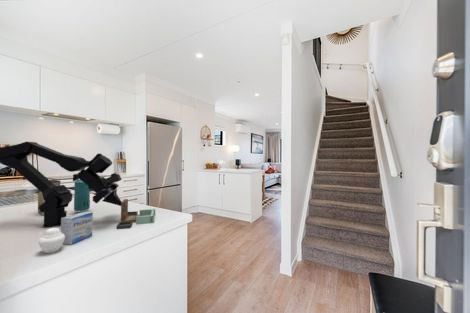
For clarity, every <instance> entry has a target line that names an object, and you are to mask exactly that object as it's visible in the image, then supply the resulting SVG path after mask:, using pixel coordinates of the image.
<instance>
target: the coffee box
mask: <svg viewBox="0 0 470 313" xmlns="http://www.w3.org/2000/svg"><path fill="white" fill-rule="evenodd" d="M49 180H50V181H51V182H52V183H53V184H54V185H56V186H60V185H61V180H57V179H54V178H53V179H49ZM37 191H38V192H37V214H39V215H41V216H42V217H44V212H40V209H39V207H40V206H41V205H42V204H43V203H44V202H45V200H44V199H43V195H42V192H41V191H39V190H38V189H37Z"/></svg>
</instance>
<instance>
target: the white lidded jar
mask: <svg viewBox="0 0 470 313" xmlns="http://www.w3.org/2000/svg"><path fill="white" fill-rule="evenodd" d="M64 239H65V235H64V234H62V233H61V229H59V227H50V228H48V229H46V230H45V231H44V234H42V236H41V237H40V238H39V239H38V240H37V241H38V242H37V244H38V245H39V247H40V249H41V250H42V251H43V253H45V254H53V253H56V252H58V251H59V250H60V248H61V247H62V245H63V244H62V243H63V242H64Z"/></svg>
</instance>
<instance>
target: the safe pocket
mask: <svg viewBox="0 0 470 313" xmlns="http://www.w3.org/2000/svg"><path fill="white" fill-rule="evenodd" d="M148 214H150V216H137V217H136V222H135V223H136V225H140V224H143V225H144V224H153V223H155V216H156V208H149V209H139V215H148Z"/></svg>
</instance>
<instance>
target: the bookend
mask: <svg viewBox="0 0 470 313" xmlns="http://www.w3.org/2000/svg"><path fill="white" fill-rule="evenodd" d="M128 209H129V199H128V198H124V199H122V200H121V206H120V222H129V221H133V223H136V217H137V216H150V214H148V215H140V214H137V215H133V216H128V212H129V210H128Z"/></svg>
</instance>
